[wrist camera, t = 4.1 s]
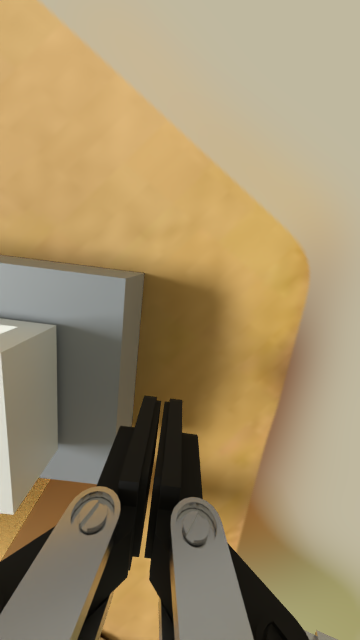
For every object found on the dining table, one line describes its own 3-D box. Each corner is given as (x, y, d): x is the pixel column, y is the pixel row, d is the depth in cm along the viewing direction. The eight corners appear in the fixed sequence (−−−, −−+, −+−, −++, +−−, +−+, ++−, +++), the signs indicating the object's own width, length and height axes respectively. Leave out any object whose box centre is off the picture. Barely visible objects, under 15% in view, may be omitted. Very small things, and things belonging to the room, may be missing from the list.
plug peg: (114, 492, 20) (17, 818, 8) (69, 487, 20) (-95, 807, 8) (117, 454, 19) (10, 765, 7) (69, 449, 19) (-117, 752, 7)
